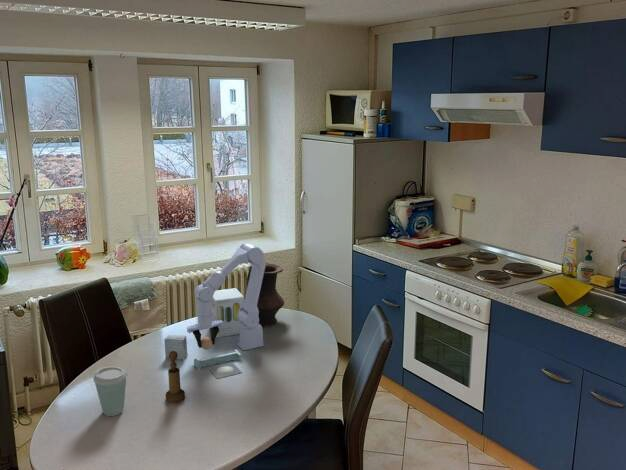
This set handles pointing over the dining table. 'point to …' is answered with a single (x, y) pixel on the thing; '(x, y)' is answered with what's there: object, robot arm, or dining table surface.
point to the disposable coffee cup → (111, 389)
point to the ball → (206, 343)
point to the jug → (268, 295)
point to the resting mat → (225, 370)
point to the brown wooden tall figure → (174, 382)
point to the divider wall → (217, 359)
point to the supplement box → (227, 310)
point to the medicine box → (176, 345)
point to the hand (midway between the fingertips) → (206, 345)
